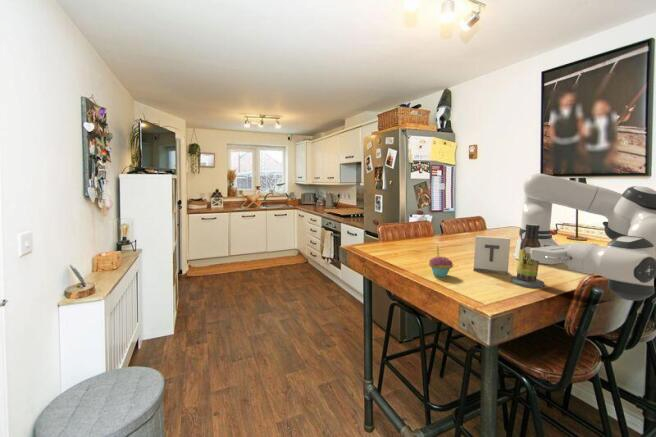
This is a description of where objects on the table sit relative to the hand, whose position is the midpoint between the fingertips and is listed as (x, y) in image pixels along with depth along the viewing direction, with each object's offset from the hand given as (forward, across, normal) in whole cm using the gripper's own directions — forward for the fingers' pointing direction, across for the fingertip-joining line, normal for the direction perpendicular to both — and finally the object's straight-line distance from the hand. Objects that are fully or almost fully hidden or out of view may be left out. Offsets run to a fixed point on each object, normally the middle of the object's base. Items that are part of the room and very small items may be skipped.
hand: (536, 248), depth 110 cm
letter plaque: (+18, 0, -13) cm, 22 cm away
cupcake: (+21, -22, -13) cm, 33 cm away
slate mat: (+2, 0, -13) cm, 13 cm away
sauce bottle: (+3, +1, -12) cm, 13 cm away
